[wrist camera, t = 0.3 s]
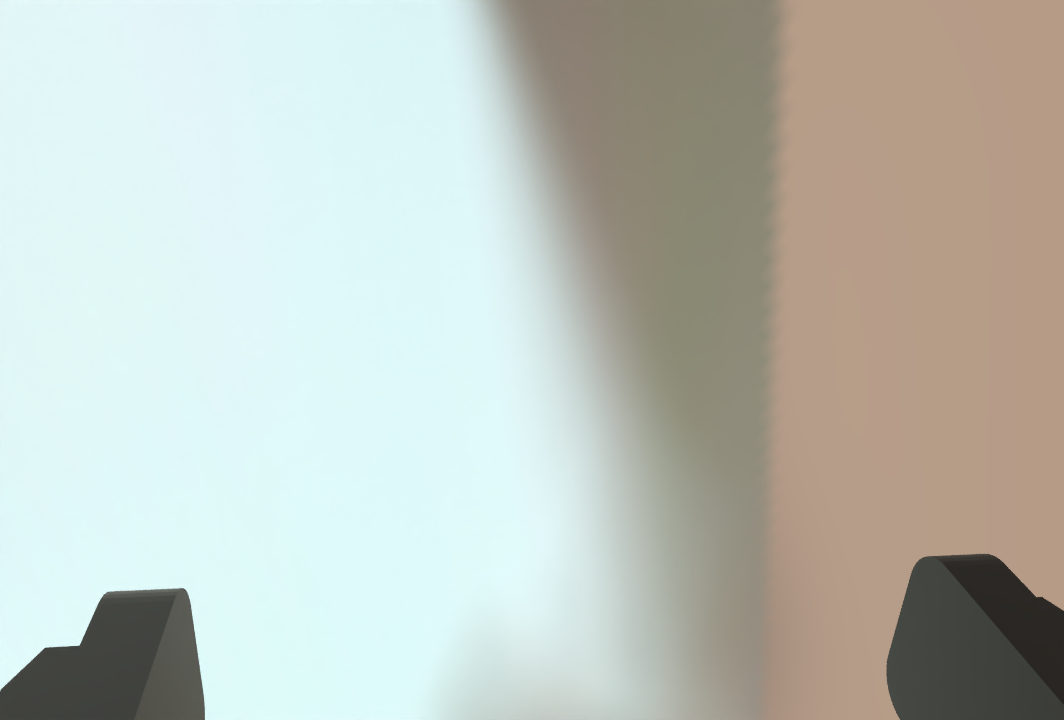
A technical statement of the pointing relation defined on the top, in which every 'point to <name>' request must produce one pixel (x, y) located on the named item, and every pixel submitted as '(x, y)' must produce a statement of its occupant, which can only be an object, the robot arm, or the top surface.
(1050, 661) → the robot arm
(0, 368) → the top surface
